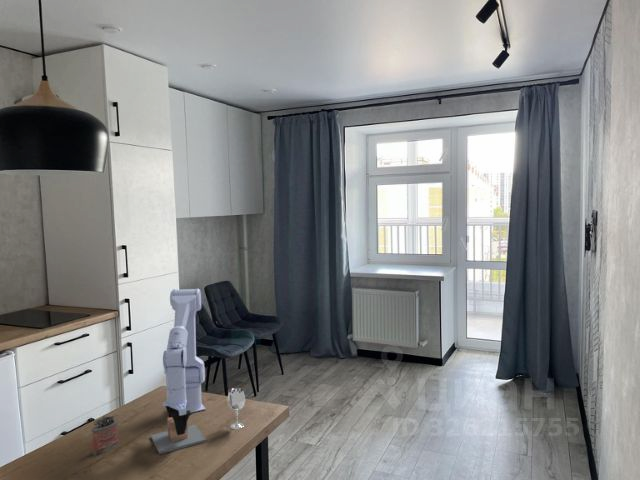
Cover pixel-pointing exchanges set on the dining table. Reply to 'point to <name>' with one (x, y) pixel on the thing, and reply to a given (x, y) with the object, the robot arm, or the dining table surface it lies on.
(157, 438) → the mat
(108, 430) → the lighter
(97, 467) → the dining table surface
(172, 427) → the block
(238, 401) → the wineglass
